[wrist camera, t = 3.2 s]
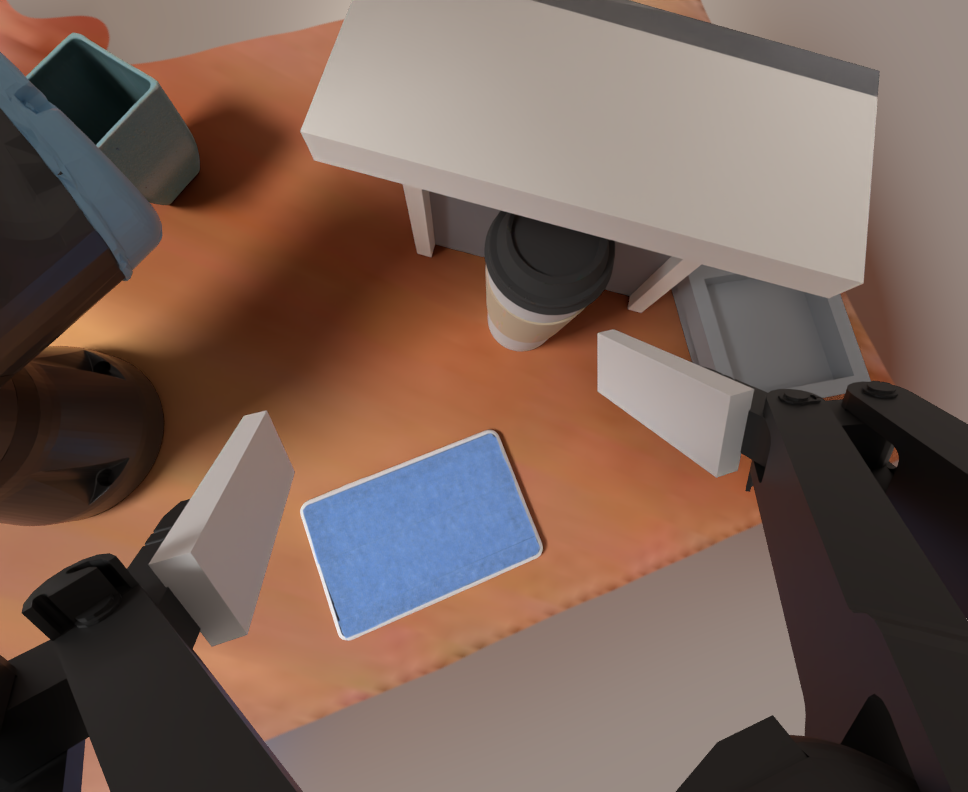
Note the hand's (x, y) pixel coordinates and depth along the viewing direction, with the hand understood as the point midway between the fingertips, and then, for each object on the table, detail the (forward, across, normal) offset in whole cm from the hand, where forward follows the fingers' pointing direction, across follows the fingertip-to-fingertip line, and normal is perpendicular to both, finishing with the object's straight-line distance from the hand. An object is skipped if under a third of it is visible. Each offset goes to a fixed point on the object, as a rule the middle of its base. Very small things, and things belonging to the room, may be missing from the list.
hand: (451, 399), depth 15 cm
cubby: (+23, +12, -3) cm, 26 cm away
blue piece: (+14, -3, -19) cm, 24 cm away
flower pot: (+38, -20, +14) cm, 45 cm away
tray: (+16, +34, -9) cm, 39 cm away
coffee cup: (+22, +11, -4) cm, 25 cm away
